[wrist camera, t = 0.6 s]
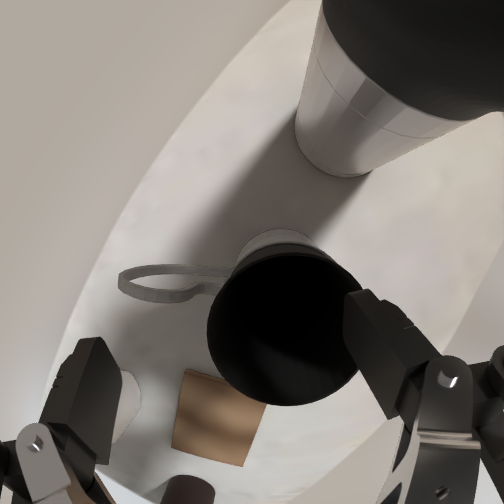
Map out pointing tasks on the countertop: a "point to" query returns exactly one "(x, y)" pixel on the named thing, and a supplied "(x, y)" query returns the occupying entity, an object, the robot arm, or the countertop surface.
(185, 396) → the walnut board
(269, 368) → the glass holder
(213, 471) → the countertop surface
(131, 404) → the eye dropper bottle
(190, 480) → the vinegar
